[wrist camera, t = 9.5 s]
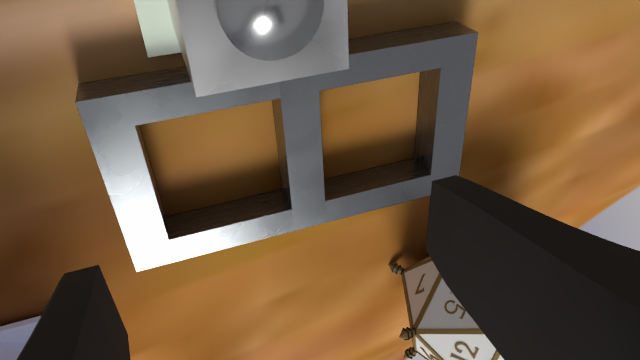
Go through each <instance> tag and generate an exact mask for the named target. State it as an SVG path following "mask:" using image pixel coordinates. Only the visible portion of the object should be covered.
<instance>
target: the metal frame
mask: <svg viewBox="0 0 640 360" xmlns="http://www.w3.org/2000/svg"><path fill="white" fill-rule="evenodd" d="M477 37H478V32H476V31H474V30H472V29H470V28H468V27H466V26H464V25H462V24H460V23H458V22H451V23H445V24H439V25H433V26H427V27H421V28H415V29H409V30H403V31H397V32H391V33H385V34H378V35H372V36H366V37H360V38H354V39H348V50H349V69H345V70H340V71H335V72H329V73H324V74H319V75H313V76H308V77H303V78H297V79H292V80H287V81H281V82H276V83H271V84H265V85H260V86H255V87H249V88H244V89H239V90H233V91H228V92H223V93H217V94H212V95H207V96H201V97H196V95H195V92H194V89H193V86H192V83H191V80H190V77H189V74H188V71H187V68H186V66H185V67H179V68H173V69H166V70H160V71H154V72H148V73H142V74H136V75H130V76H124V77H118V78H112V79H106V80H100V81H94V82H88V83H82V84H78V90H77V96H76V105H77V108H78V111H79V114H80V116H81V119H82V122H83V125H84V127H85V130H86V133H87V136H88V138H89V141H90V144H91V147H92V150H93V152H94V155H95V158H96V161H97V163H98V166H99V169H100V172H101V175H102V177H103V180H104V183H105V186H106V188H107V191H108V194H109V197H110V199H111V202H112V205H113V208H114V211H115V213H116V216H117V219H118V222H119V224H120V227H121V230H122V233H123V235H124V238H125V241H126V244H127V247H128V249H129V252H130V255H131V258H132V260H133V263H134V266H135V269H136V272H138V271H142V270H146V269H150V268H153V267H157V266H161V265H165V264H169V263H173V262H176V261H180V260H184V259H188V258H192V257H196V256H200V255H203V254H207V253H211V252H215V251H219V250H223V249H226V248H230V247H234V246H238V245H242V244H246V243H250V242H253V241H257V240H261V239H265V238H269V237H273V236H277V235H280V234H284V233H288V232H292V231H296V230H300V229H303V228H307V227H311V226H315V225H319V224H323V223H327V222H330V221H334V220H338V219H342V218H346V217H350V216H353V215H357V214H361V213H365V212H369V211H373V210H377V209H380V208H384V207H388V206H392V205H396V204H400V203H403V202H407V201H411V200H415V199H419V198H423V197H427V196H430V195H431V187H432V181H434V180H438V179H442V178H446V177H450V176H454V175H457V176H459V173H460V165H461V158H462V150H463V143H464V135H465V128H466V120H467V113H468V105H469V97H470V90H471V82H472V75H473V67H474V60H475V52H476V45H477ZM416 72H420V83H419V98H418V112H417V127H416V141H415V155H414V158H413V159H409V160H405V161H400V162H396V163H392V164H388V165H383V166H379V167H375V168H371V169H367V170H362V171H358V172H354V173H350V174H345V175H341V176H337V177H333V178H329V179H324V173H323V155H322V136H321V118H320V100H319V91H321V90H326V89H332V88H337V87H342V86H347V85H353V84H358V83H363V82H368V81H374V80H379V79H384V78H390V77H395V76H400V75H405V74H411V73H416ZM268 100H272V104H273V113H274V122H275V131H276V139H277V148H278V157H279V166H280V175H281V183H282V190H278V191H274V192H269V193H265V194H261V195H257V196H253V197H248V198H244V199H240V200H236V201H232V202H227V203H223V204H219V205H215V206H210V207H206V208H202V209H198V210H194V211H189V212H185V213H181V214H177V215H172V216H168V217H165V214H164V210H163V207H162V203H161V200H160V196H159V193H158V189H157V186H156V182H155V179H154V176H153V172H152V169H151V165H150V162H149V158H148V155H147V151H146V148H145V144H144V141H143V138H142V134H141V131H140V127H139V125H142V124H147V123H152V122H158V121H163V120H168V119H173V118H179V117H184V116H189V115H194V114H200V113H205V112H210V111H216V110H221V109H226V108H231V107H237V106H242V105H247V104H252V103H258V102H263V101H268Z"/></svg>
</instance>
